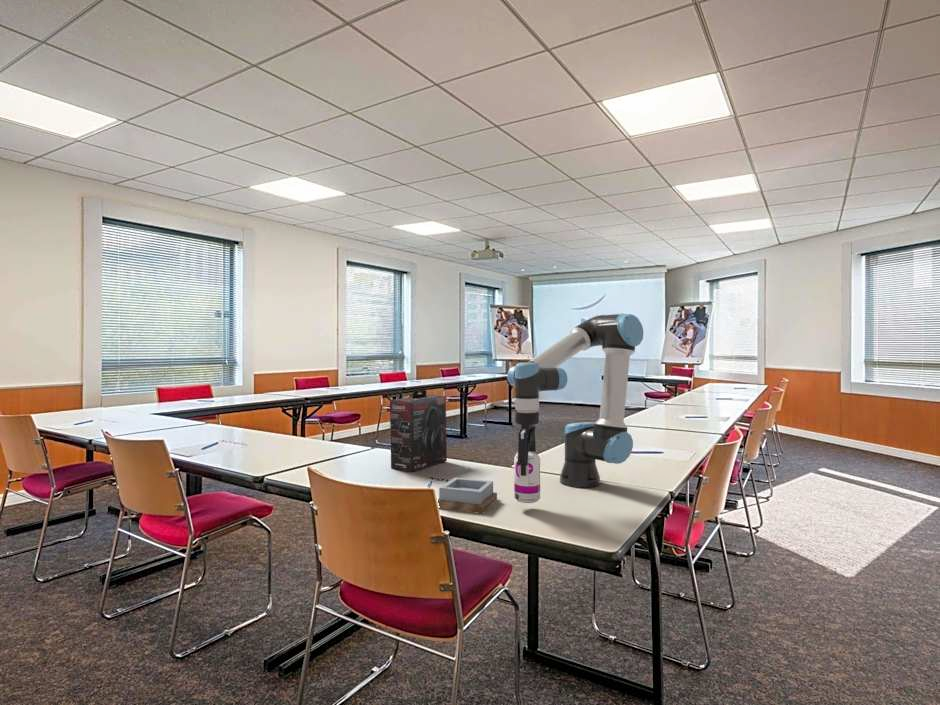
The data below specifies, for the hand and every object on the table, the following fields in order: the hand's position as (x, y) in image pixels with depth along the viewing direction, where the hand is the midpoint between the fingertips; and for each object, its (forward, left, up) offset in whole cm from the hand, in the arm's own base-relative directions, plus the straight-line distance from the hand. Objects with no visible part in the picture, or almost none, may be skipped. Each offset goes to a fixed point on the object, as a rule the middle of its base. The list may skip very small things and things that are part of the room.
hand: (527, 481), depth 168 cm
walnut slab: (+20, 0, -10) cm, 22 cm away
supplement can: (0, 0, -6) cm, 6 cm away
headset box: (+58, -45, -9) cm, 74 cm away
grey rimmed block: (+20, 0, -7) cm, 21 cm away
